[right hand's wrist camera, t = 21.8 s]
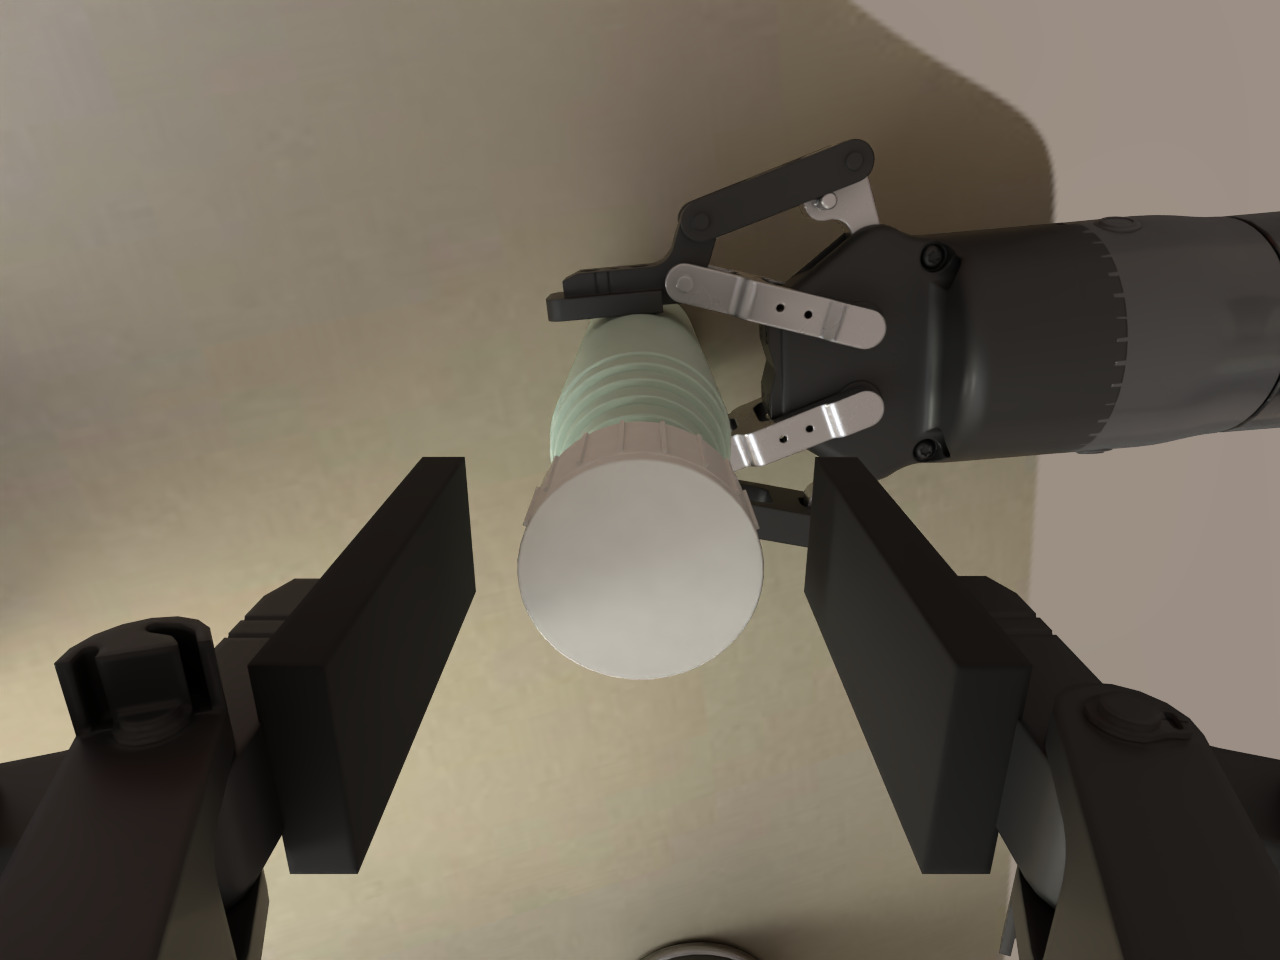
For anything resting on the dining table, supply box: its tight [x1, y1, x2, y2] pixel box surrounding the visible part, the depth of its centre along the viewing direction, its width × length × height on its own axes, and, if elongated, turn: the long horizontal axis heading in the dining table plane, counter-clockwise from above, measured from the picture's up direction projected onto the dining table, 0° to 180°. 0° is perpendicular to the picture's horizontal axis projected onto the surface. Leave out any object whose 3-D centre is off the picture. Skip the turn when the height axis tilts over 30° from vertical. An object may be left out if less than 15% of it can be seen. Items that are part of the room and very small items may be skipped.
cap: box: [518, 420, 764, 680], centre depth 13 cm, size 4×4×2 cm
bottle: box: [550, 304, 731, 464], centre depth 22 cm, size 4×4×20 cm
